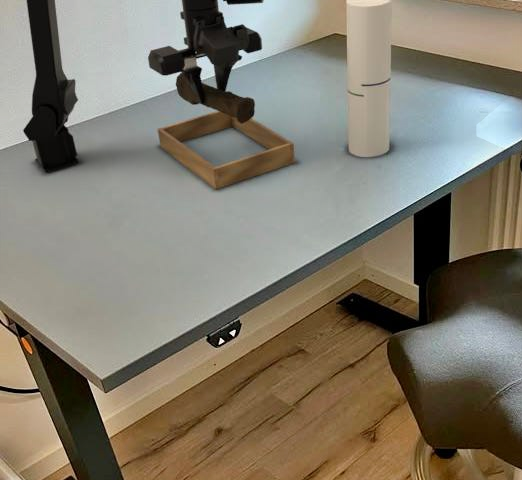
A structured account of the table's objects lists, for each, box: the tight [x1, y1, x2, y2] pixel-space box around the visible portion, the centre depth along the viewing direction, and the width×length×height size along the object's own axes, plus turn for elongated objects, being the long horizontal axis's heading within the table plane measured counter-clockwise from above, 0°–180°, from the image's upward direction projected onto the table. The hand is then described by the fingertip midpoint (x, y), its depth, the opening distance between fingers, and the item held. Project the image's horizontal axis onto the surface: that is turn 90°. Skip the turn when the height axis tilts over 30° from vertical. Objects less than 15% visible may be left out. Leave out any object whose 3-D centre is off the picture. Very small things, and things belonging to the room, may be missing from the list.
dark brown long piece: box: [175, 72, 256, 124], centre depth 137 cm, size 19×4×5 cm, turn 40°
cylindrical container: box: [345, 0, 393, 158], centre depth 133 cm, size 7×7×25 cm
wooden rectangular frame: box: [157, 110, 296, 190], centre depth 143 cm, size 16×22×4 cm
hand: (211, 100), depth 137 cm, fingers closed on dark brown long piece, 3 cm apart
